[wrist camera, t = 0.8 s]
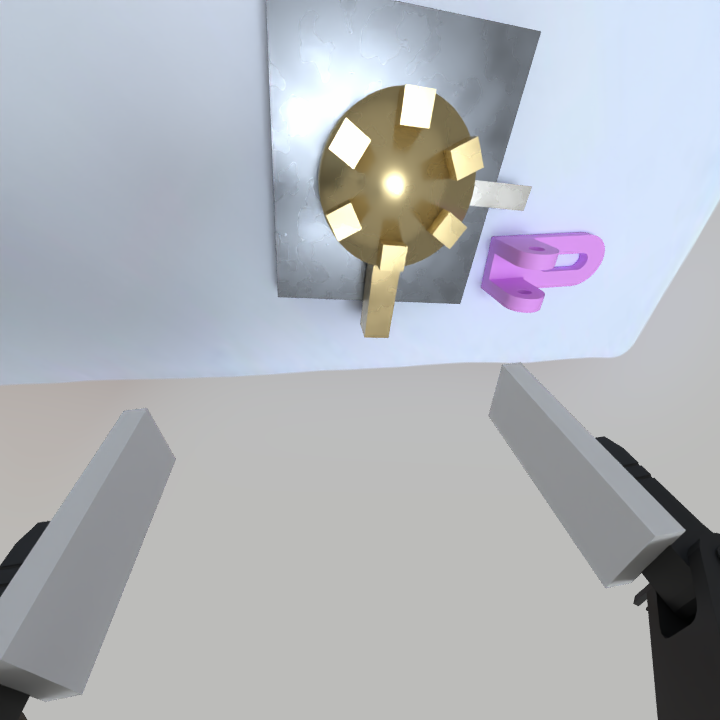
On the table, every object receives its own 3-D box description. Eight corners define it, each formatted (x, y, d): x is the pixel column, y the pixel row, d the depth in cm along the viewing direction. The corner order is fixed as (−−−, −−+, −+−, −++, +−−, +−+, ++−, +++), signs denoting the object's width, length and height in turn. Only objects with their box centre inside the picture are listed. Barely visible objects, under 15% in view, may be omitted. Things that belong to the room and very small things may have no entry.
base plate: (279, 287, 33) (277, 297, 31) (268, -12, 21) (264, -28, 19) (479, 295, 37) (490, 305, 35) (560, 48, 25) (583, 40, 23)
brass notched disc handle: (320, 78, 22) (323, 66, 19) (478, 103, 24) (509, 97, 21) (313, 322, 33) (315, 345, 29) (425, 325, 35) (439, 346, 31)
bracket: (480, 287, 37) (513, 313, 31) (491, 236, 33) (529, 255, 28) (583, 280, 38) (632, 304, 32) (603, 230, 35) (661, 248, 29)
